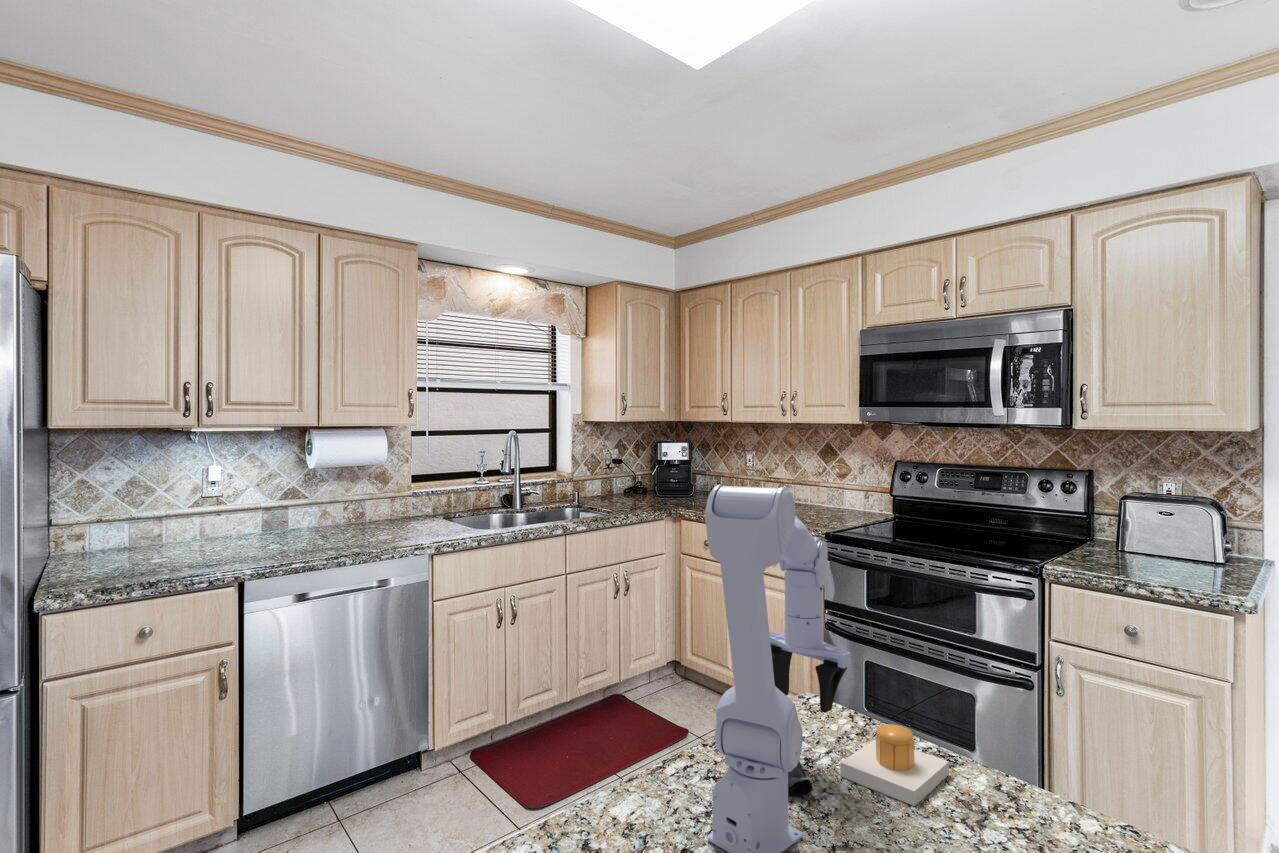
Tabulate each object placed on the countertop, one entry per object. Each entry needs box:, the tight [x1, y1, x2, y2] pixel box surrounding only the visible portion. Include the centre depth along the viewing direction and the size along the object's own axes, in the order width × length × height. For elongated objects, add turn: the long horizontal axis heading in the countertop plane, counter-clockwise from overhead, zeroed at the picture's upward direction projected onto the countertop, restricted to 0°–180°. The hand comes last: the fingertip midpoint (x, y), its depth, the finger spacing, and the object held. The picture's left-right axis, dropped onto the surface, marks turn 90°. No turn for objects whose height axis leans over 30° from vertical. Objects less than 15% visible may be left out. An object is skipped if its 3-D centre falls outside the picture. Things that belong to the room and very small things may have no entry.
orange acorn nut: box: [875, 723, 915, 771], centre depth 96 cm, size 5×5×4 cm
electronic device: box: [788, 760, 814, 798], centre depth 97 cm, size 9×6×15 cm
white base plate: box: [839, 738, 950, 807], centre depth 96 cm, size 12×11×5 cm
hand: (804, 702), depth 99 cm, fingers open, 7 cm apart
